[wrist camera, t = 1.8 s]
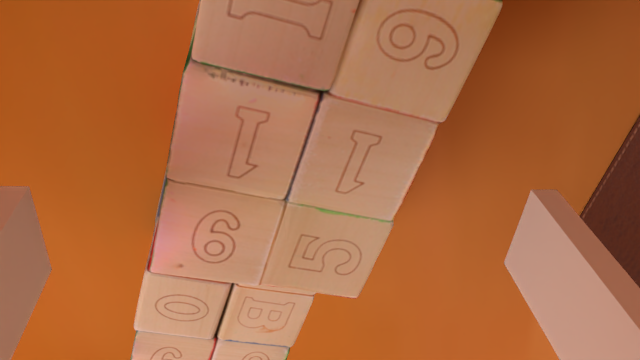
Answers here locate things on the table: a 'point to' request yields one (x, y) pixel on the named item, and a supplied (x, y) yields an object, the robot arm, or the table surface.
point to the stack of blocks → (292, 162)
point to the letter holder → (619, 206)
